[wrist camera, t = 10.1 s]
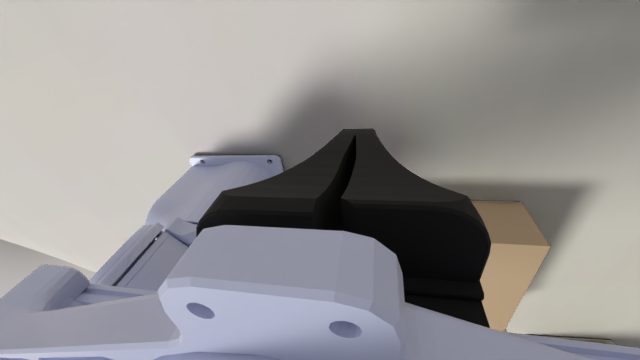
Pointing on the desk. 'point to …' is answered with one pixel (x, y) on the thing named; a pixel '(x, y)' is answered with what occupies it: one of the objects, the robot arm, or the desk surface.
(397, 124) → the desk surface
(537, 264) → the carton
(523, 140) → the desk surface
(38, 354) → the robot arm
